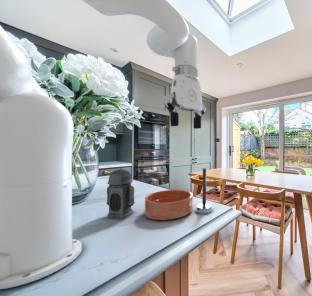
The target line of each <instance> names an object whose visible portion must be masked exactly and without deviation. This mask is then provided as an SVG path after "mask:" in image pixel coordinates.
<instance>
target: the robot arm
mask: <svg viewBox="0 0 312 296" xmlns="http://www.w3.org/2000/svg"><path fill="white" fill-rule="evenodd" d="M81 1H82V2H84V3H85V4H86V5H88V6H89V7H91V8H92V9H94V10H96V11H97V12H98V13H100V14H101V15H104V16H108V17H111V16H123V15H130V16H131V15H133V16H134V15H135V16H138V17H141V18H144V19H146V20H148V21H150V22H152V23H153V24H155V25H154V26H153V27H152V28H151V29H150V30H149V31H148V32H147V34H146V45H147V46H148V48H149V49H150V50H151V52H153V53H154V54H156V55H158V56H161V57H165V58H170V59H174V66H172V68H171V70H172V72H174V76H173V78H172V82H171V87H170V89H171V90H170V91H171V92H170V94H168V95H164V96H162V98H161V99H162V101H163V103H164V107H165V108H166V109H167V112H168V113H169V122H170V127H178V126H179V125H180V122H179V121H180V120H179V117H180V116H179V112H178V111H179V110H181V111H185V112H190V113H192V114H193V116H194V117H193V129H195V130H197V129H201V128H202V118H203V117H204V116H203V115H204V114H205V111H206V109H207V107H206V105H205V104H204V103H203V96H202V95H203V94H202V88H201V87H202V86H201V82H200V81H199V46H198V45H199V43H198V40H197V38H196V37H195V36H194V35H193V34H191V33H190V30H189V26H188V24H187V22H186V20H185V18H184V17H183V16H182V14H180V12H179V11H178V10H177V8H175V7H174V6H173V5H172V4H171V3H170V2H169V1H168V0H81ZM74 127H75V125H74V120H73V117H72V115H71V113H70V111H69V110H68V109H67V107H66V106H65V105H63V104H62V103H61V102H59V101H58V100H56V99H54V98H52V97H49V96H47V94H46V93H45V92H44V90H43V89H42V87H41V85H39V83H38V82H37V81H36V79H35V77H34V76H33V73H32V67H31V64H30V62H29V60H28V59H27V57H26V55H25V54H24V53H23V52H22V51H21V50H20V49H19V47H18V46H17V44H16V43H15V42H14V41H13V40H12V39H11V37H10V36H9V34H8V33H7V32H6V31H5V29H4V28H3V27H2V25H1V24H0V290H5V289H11V288H15V287H19V286H22V285H23V286H24V285H26V284H29V283H33V282H36V281H38V280H40V279H43V278H46V277H47V276H50V275H52V274H54V273H56V272H58V271H60V270H61V269H63V268H64V267H66V266H68V265H69V264H71V263H72V262H73V261H74V260H76V259H77V258H78V257H79V256H80V254H81V252H82V250H83V243H82V241H80V240H78V239H76V238H75V239H74V238H73V167H72V166H73V145H74V131H75V130H74Z"/></svg>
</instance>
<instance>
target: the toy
mask: <svg viewBox="0 0 312 296" xmlns="http://www.w3.org/2000/svg"><path fill="white" fill-rule="evenodd" d="M133 182H134V180H133V178H132V173H131V172H130V171H129V170H127V169H123V168H119V169H116V170H114V171H112V172H111V173H110V174H109V176H108V180H107V185H108V186H107V188H106V205H107V206H108V213H107V218H108V219H120V220H121V219H126V218H128V217H130V216H131V215H132V214H133V212H134V209H132V207H133V206H134V204H135V187H134V186H133V185H132V183H133Z"/></svg>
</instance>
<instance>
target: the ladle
mask: <svg viewBox="0 0 312 296" xmlns="http://www.w3.org/2000/svg"><path fill="white" fill-rule="evenodd" d="M212 207H213V205H212V204H210V203H207V168H206V167H203V168H202V203H199V204H196V213H198V214H199V215H201V214H202V215H206V214H207V215H208V214H210V213H212V211H213V210H212V209H213V208H212Z"/></svg>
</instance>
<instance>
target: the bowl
mask: <svg viewBox="0 0 312 296" xmlns="http://www.w3.org/2000/svg"><path fill="white" fill-rule="evenodd" d="M193 197H194V196H193V193H192V192H191V191H188V190H184V189H166V190H160V191H155V192H152V193H150V194H147V195H146V196H145V197H144V215H145V217H146V218H148V219H151V220H155V221H167V220H174V219H179V218H182V217H185V216H187V215H188V214H190V213H192V211H193V201H194V200H193V199H194V198H193Z"/></svg>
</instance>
